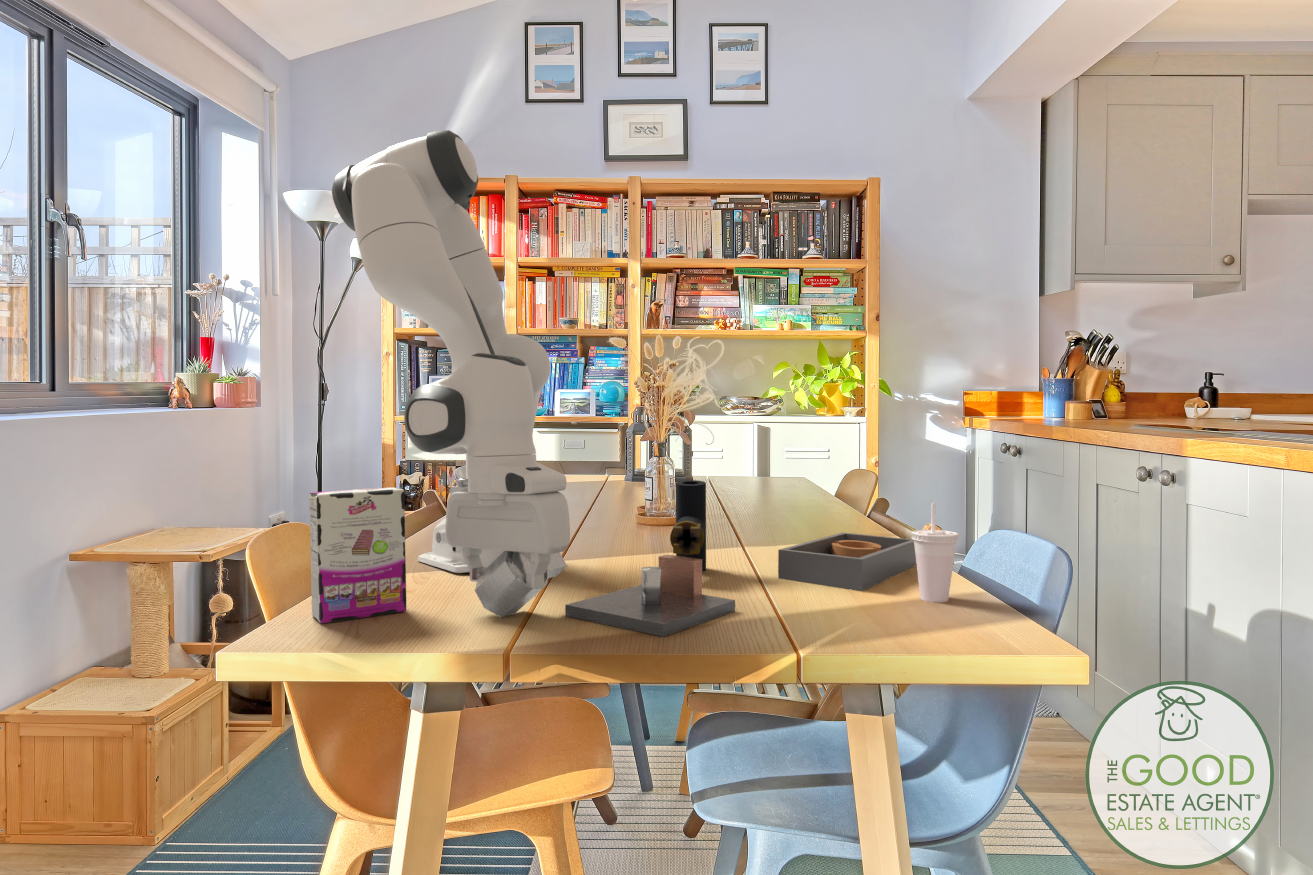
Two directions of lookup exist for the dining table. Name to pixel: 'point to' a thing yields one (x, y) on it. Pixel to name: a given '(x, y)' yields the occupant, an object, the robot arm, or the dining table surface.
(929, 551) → the smoothie
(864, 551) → the brown oblong hollow piece
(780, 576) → the parts corral
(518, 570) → the octagonal handled mug
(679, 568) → the grey square stand
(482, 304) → the robot arm
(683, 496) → the pipe connector
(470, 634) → the dining table surface
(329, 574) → the candy bar box
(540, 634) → the dining table surface
